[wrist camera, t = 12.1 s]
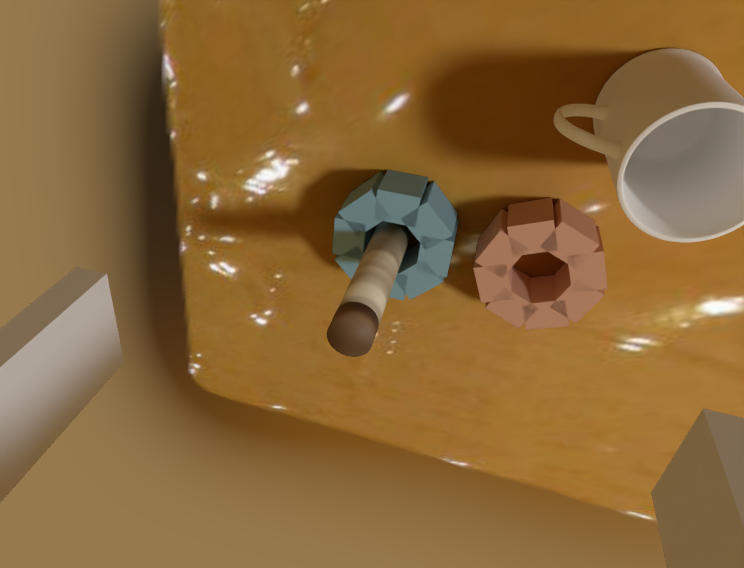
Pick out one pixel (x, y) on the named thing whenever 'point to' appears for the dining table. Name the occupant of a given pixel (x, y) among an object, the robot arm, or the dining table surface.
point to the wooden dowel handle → (369, 291)
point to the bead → (406, 207)
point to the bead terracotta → (544, 293)
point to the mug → (669, 144)
